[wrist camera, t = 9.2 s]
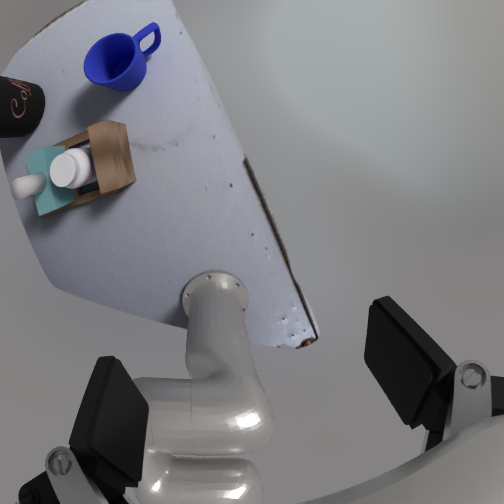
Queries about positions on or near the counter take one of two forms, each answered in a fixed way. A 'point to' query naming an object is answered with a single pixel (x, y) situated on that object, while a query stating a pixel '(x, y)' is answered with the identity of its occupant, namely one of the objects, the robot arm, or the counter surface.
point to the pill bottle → (73, 168)
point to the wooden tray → (103, 160)
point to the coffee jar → (19, 107)
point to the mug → (120, 59)
